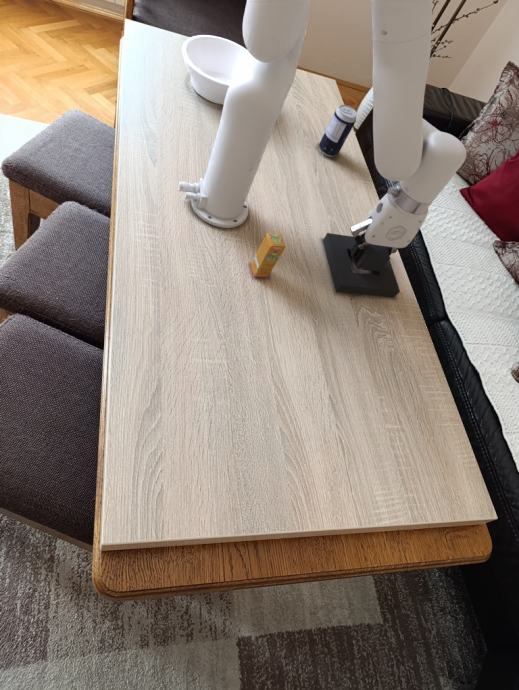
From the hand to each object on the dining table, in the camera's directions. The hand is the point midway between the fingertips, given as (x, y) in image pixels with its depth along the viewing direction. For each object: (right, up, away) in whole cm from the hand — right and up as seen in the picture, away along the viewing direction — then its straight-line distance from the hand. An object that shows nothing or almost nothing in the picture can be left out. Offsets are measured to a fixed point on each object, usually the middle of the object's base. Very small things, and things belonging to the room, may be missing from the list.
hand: (366, 258), depth 109 cm
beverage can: (-5, +32, +24) cm, 40 cm away
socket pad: (-1, -2, +3) cm, 4 cm away
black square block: (0, 0, 0) cm, 1 cm away
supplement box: (-23, -4, -7) cm, 25 cm away
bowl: (-35, +48, +22) cm, 63 cm away
